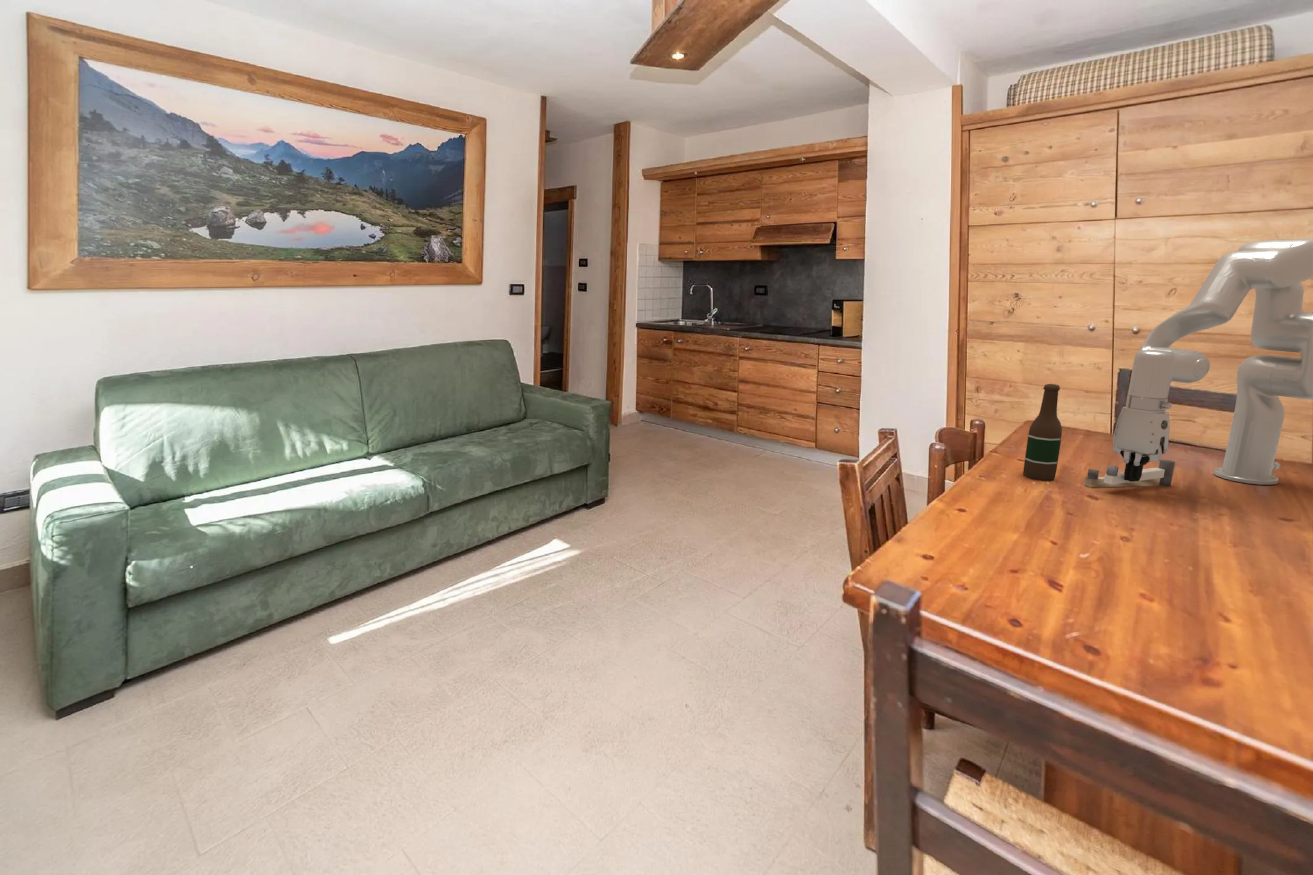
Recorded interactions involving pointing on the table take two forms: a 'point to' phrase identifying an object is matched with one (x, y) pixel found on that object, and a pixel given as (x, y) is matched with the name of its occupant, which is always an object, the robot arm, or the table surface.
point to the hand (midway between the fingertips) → (1131, 480)
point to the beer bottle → (1044, 439)
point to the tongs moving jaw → (1117, 478)
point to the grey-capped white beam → (1167, 465)
